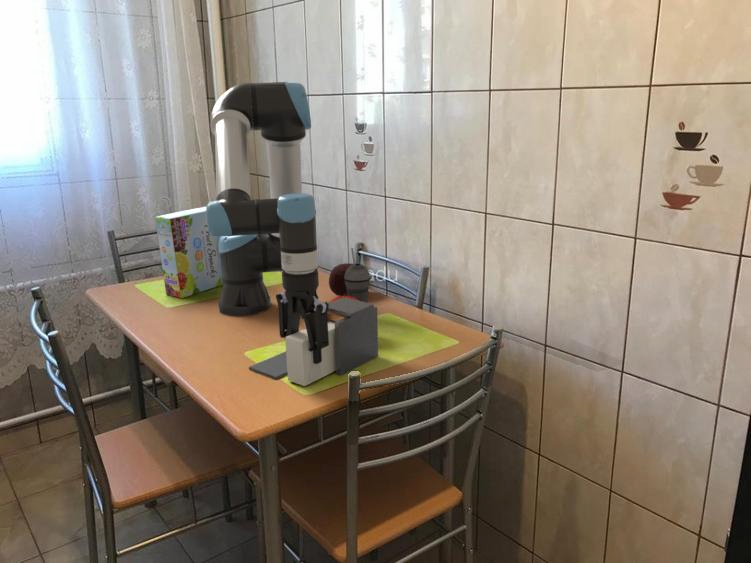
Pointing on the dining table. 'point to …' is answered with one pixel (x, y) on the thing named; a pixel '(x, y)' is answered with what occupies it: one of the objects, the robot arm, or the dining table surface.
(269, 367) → the mat
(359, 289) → the beverage cup
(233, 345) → the dining table surface
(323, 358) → the white rectangular block
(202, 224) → the snack box
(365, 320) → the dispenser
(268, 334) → the dining table surface
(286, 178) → the robot arm
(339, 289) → the potato
